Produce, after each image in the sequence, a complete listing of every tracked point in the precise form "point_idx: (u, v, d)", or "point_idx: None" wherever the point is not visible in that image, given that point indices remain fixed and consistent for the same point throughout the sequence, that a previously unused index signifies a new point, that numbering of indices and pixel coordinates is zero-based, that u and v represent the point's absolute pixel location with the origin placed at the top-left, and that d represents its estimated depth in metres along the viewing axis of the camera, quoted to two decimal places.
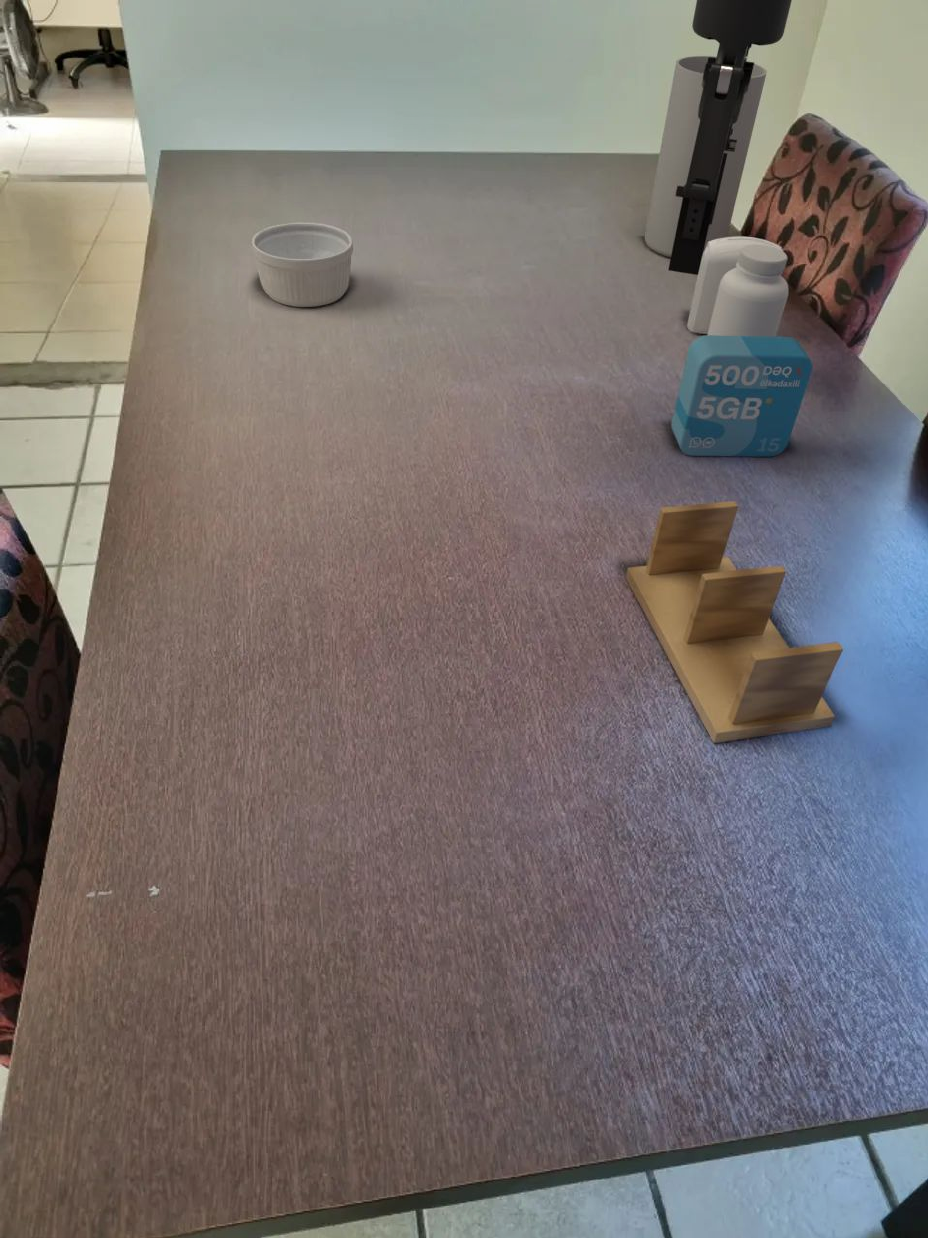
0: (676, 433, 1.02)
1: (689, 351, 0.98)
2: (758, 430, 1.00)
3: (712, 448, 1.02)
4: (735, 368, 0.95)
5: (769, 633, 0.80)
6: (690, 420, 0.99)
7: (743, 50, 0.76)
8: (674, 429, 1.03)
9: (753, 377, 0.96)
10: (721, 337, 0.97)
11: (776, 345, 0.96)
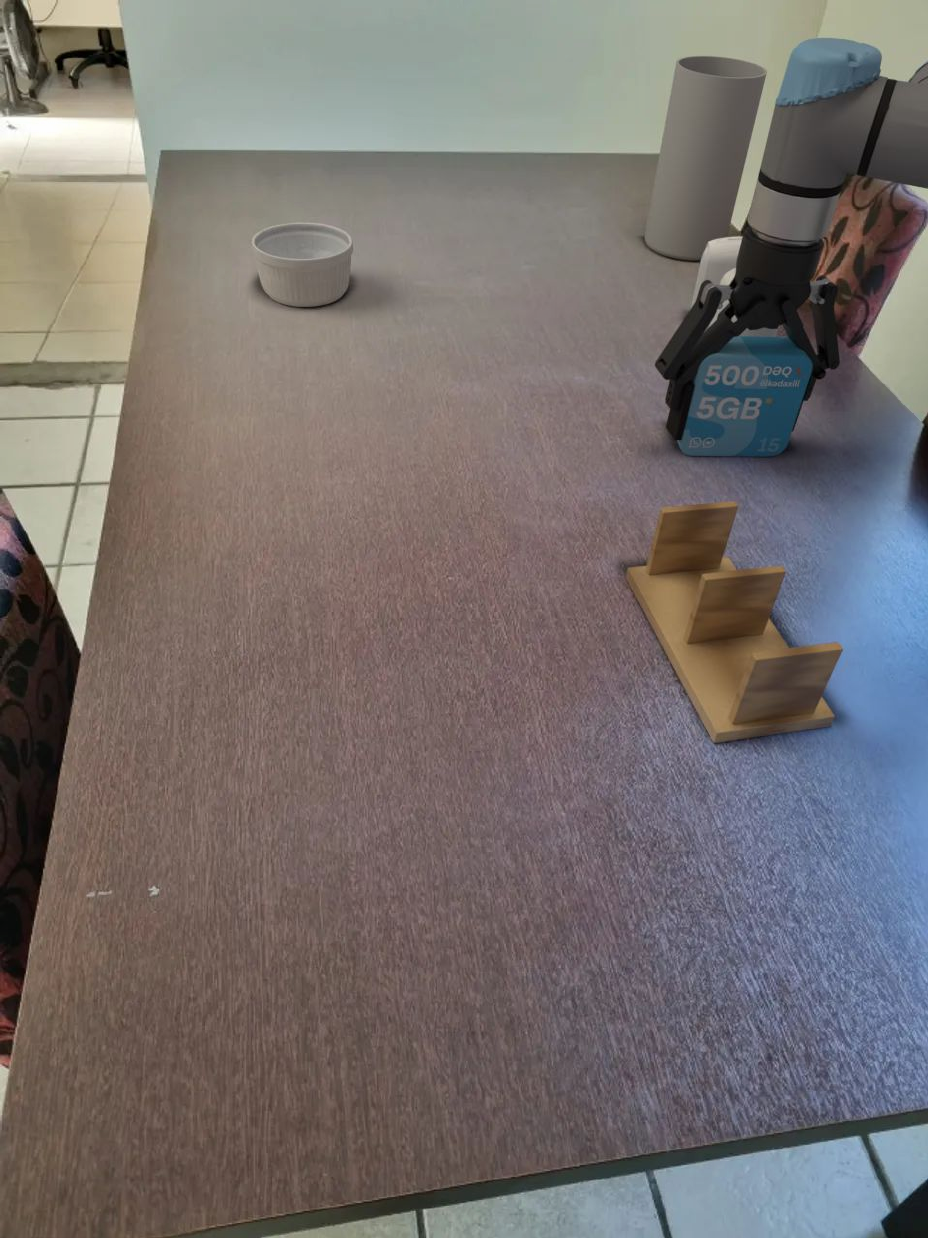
0: None
1: None
2: (758, 430, 1.00)
3: (712, 448, 1.02)
4: (735, 368, 0.95)
5: (769, 633, 0.80)
6: (690, 420, 0.99)
7: (744, 280, 0.90)
8: None
9: (753, 377, 0.96)
10: None
11: (776, 345, 0.96)
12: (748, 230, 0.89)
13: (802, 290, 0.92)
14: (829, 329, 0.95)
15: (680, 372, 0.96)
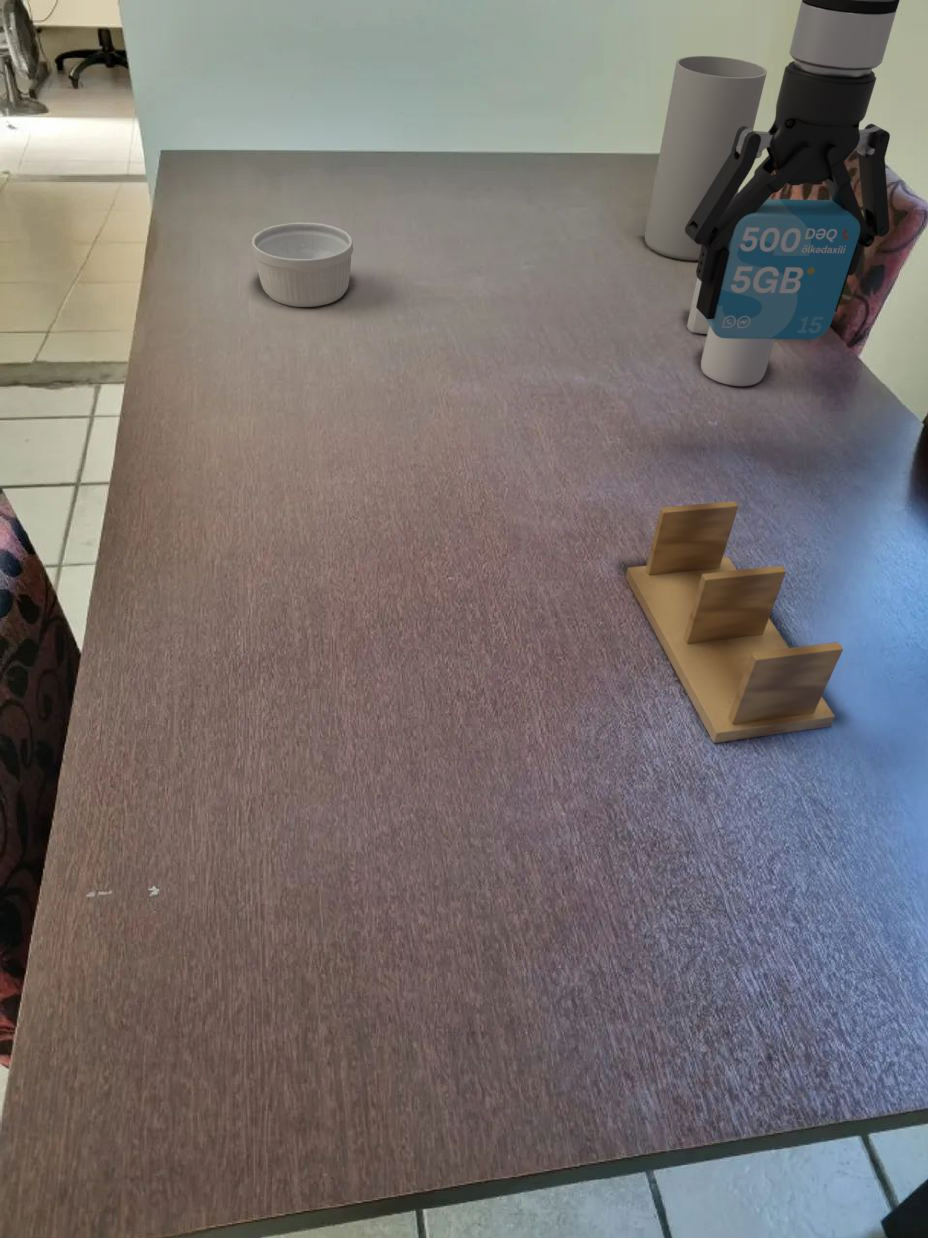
0: None
1: None
2: (798, 307, 0.91)
3: (748, 329, 0.92)
4: (774, 231, 0.86)
5: (769, 633, 0.80)
6: (724, 294, 0.90)
7: (785, 123, 0.80)
8: None
9: (794, 241, 0.87)
10: None
11: (819, 206, 0.87)
12: (790, 65, 0.79)
13: (850, 137, 0.82)
14: (879, 186, 0.86)
15: (713, 236, 0.86)
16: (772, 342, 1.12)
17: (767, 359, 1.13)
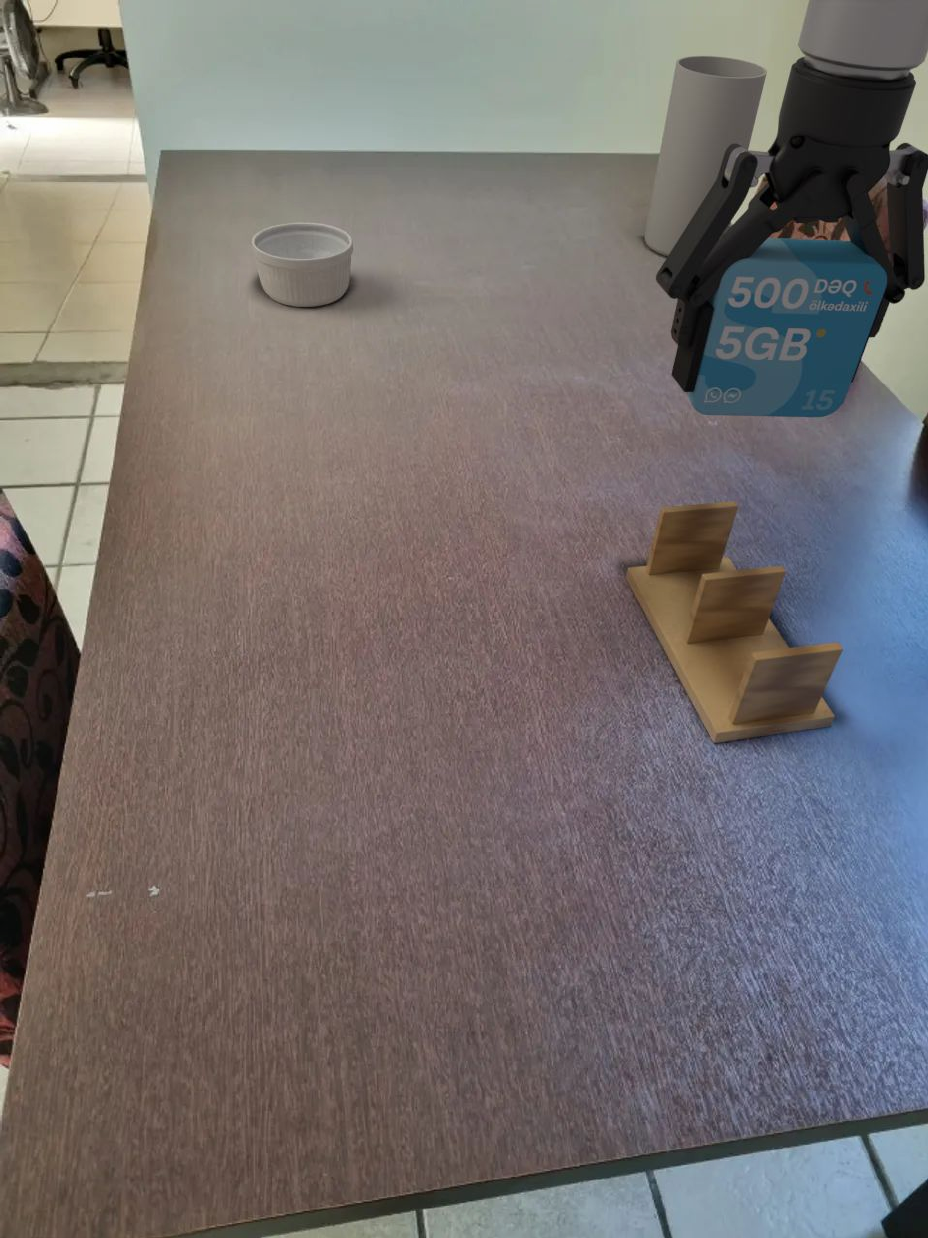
0: None
1: None
2: (803, 378, 0.70)
3: (737, 404, 0.71)
4: (773, 282, 0.65)
5: (769, 633, 0.80)
6: (707, 361, 0.69)
7: (791, 141, 0.59)
8: None
9: (799, 295, 0.66)
10: None
11: (834, 250, 0.66)
12: (799, 62, 0.58)
13: (877, 160, 0.61)
14: (913, 226, 0.65)
15: (693, 288, 0.65)
16: None
17: None
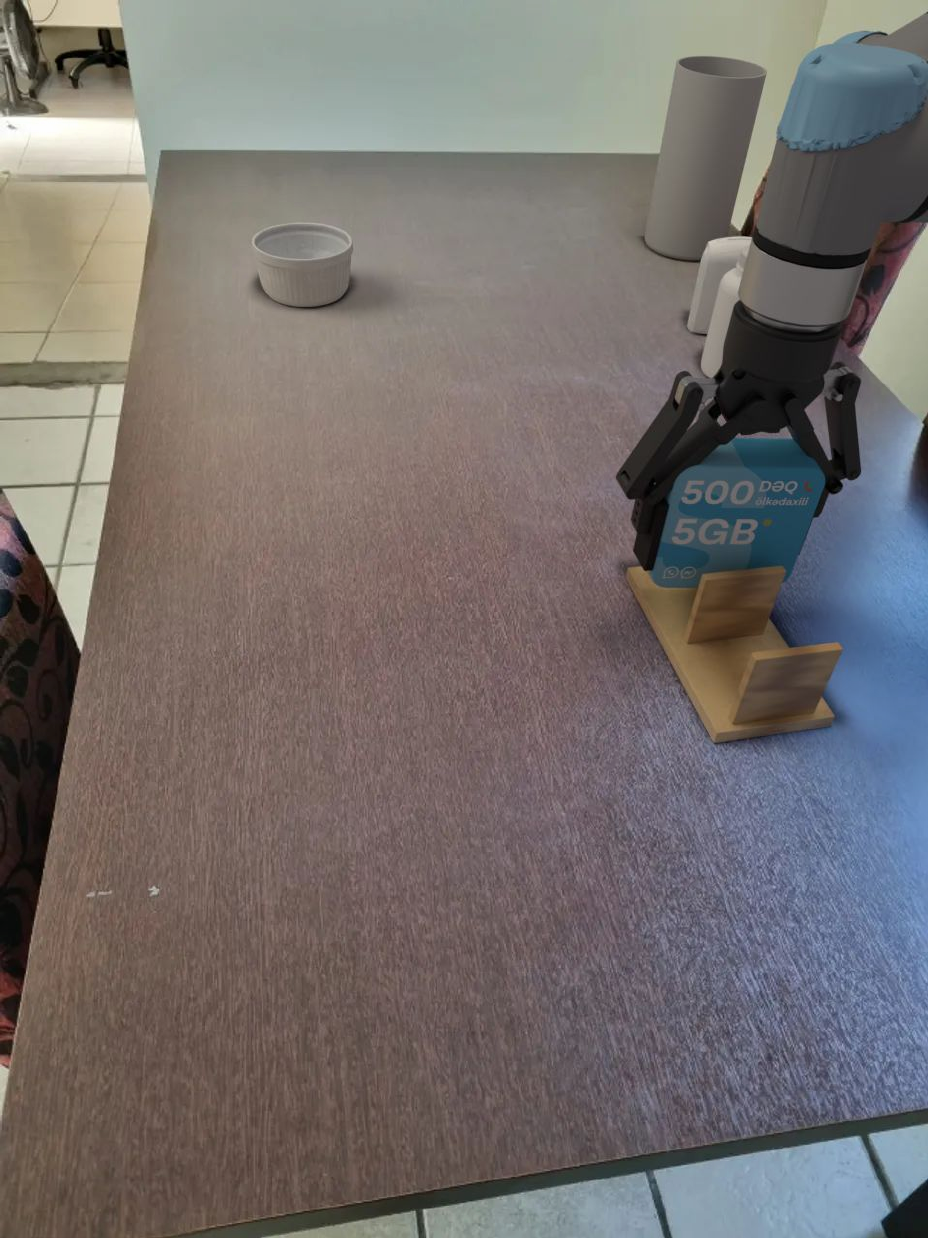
0: None
1: None
2: (753, 558, 0.77)
3: (693, 579, 0.78)
4: (722, 484, 0.71)
5: (769, 633, 0.80)
6: (664, 546, 0.75)
7: (733, 374, 0.66)
8: None
9: (746, 494, 0.72)
10: None
11: (777, 452, 0.72)
12: (739, 306, 0.65)
13: (812, 384, 0.68)
14: (848, 432, 0.71)
15: (649, 489, 0.72)
16: None
17: None
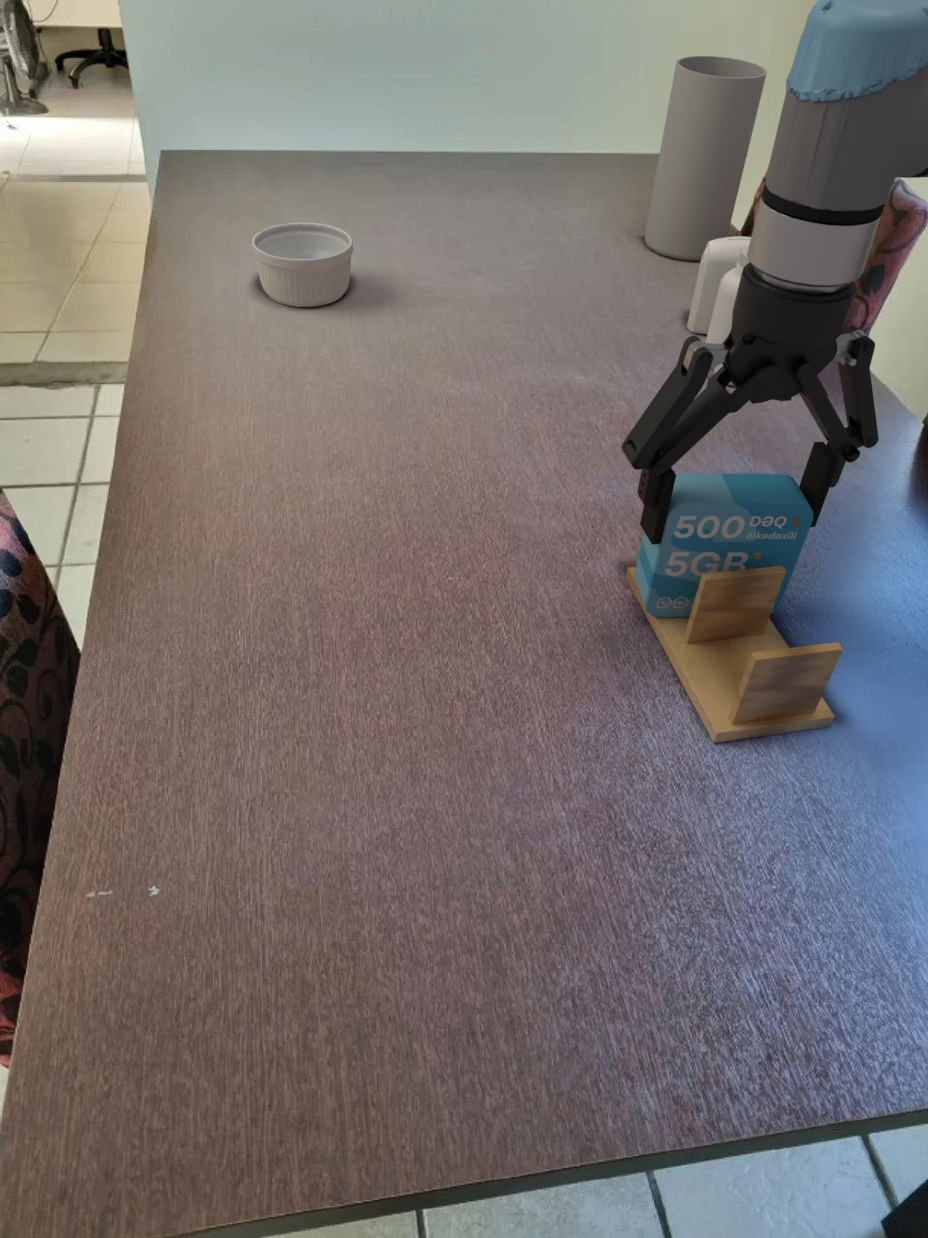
0: (640, 588, 0.81)
1: None
2: None
3: (686, 609, 0.80)
4: (713, 519, 0.74)
5: (769, 633, 0.80)
6: (657, 578, 0.77)
7: (743, 339, 0.64)
8: (638, 582, 0.81)
9: (737, 528, 0.74)
10: (696, 475, 0.75)
11: (767, 487, 0.75)
12: (749, 269, 0.63)
13: (825, 349, 0.66)
14: (863, 398, 0.70)
15: (656, 458, 0.70)
16: None
17: None
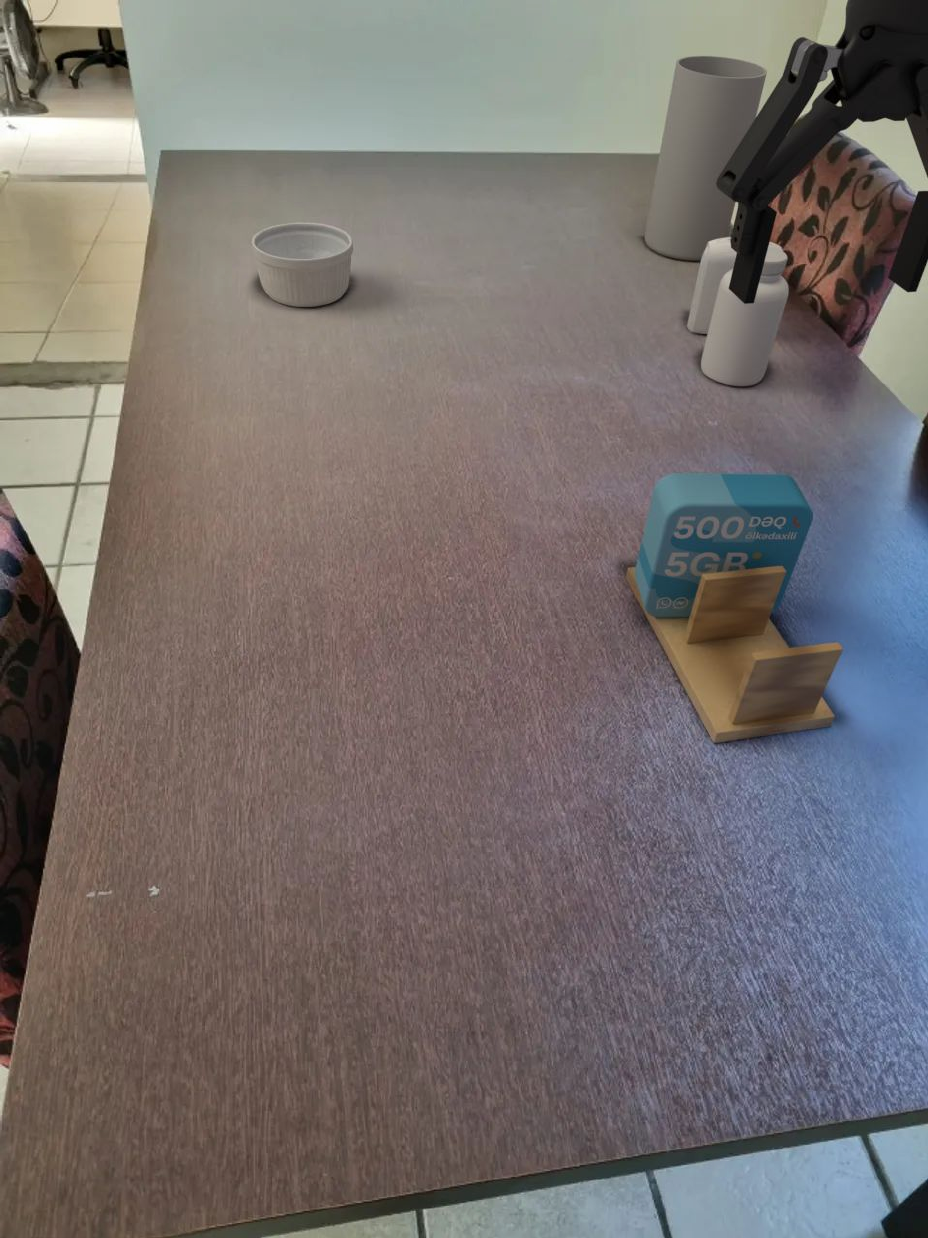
0: (640, 589, 0.81)
1: (654, 492, 0.76)
2: None
3: (686, 609, 0.80)
4: (713, 519, 0.74)
5: (769, 633, 0.80)
6: (657, 578, 0.77)
7: (861, 32, 0.58)
8: (638, 582, 0.81)
9: (736, 529, 0.74)
10: (695, 476, 0.75)
11: (766, 488, 0.75)
12: None
13: None
14: None
15: (756, 191, 0.64)
16: (772, 342, 1.12)
17: (767, 359, 1.13)
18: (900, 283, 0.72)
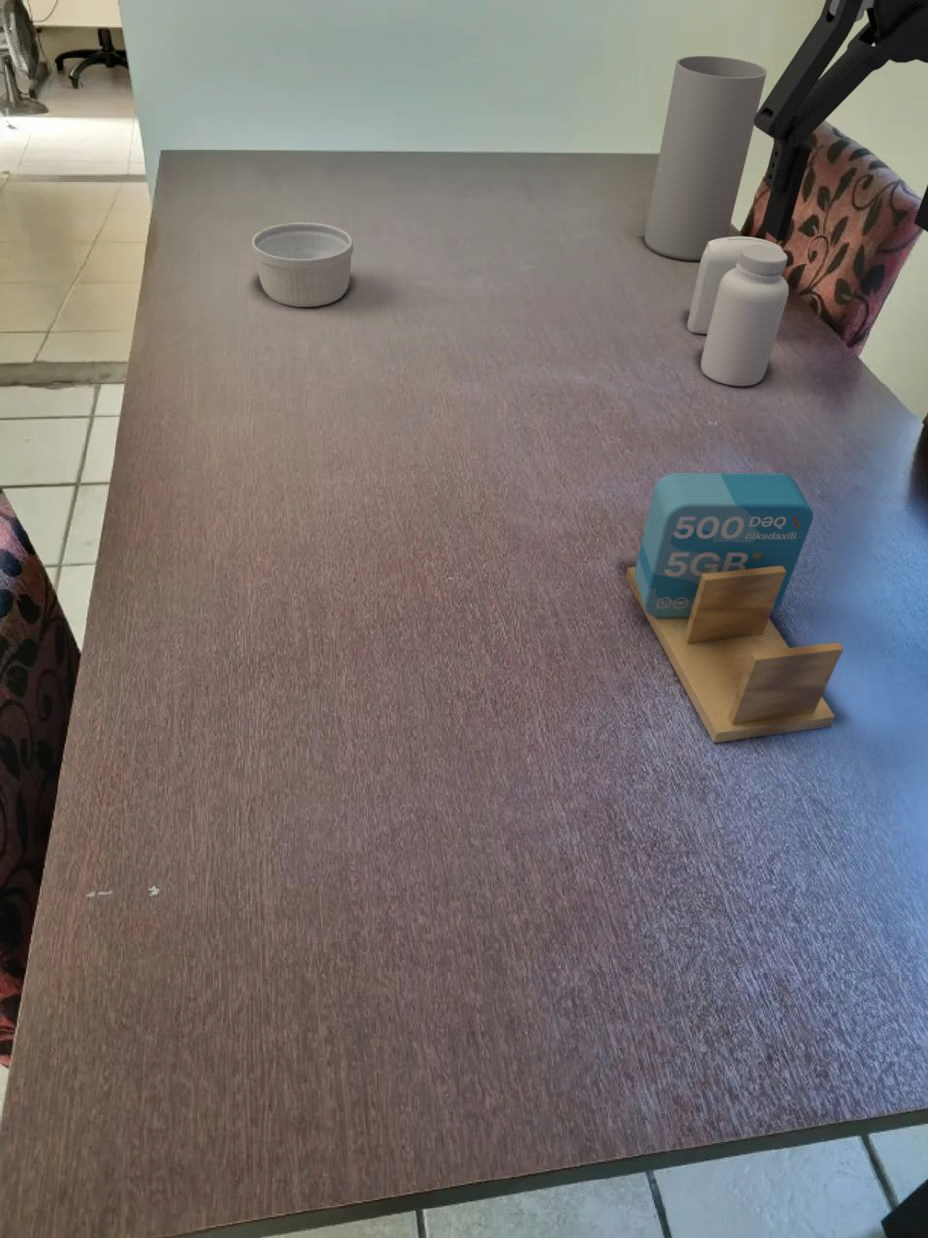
0: (640, 589, 0.81)
1: (654, 492, 0.76)
2: None
3: (686, 609, 0.80)
4: (713, 519, 0.74)
5: (769, 633, 0.80)
6: (657, 578, 0.77)
7: None
8: (638, 582, 0.81)
9: (736, 529, 0.74)
10: (695, 476, 0.75)
11: (766, 488, 0.75)
12: None
13: None
14: None
15: (792, 127, 0.67)
16: (772, 342, 1.12)
17: (767, 359, 1.13)
18: (925, 227, 0.75)
